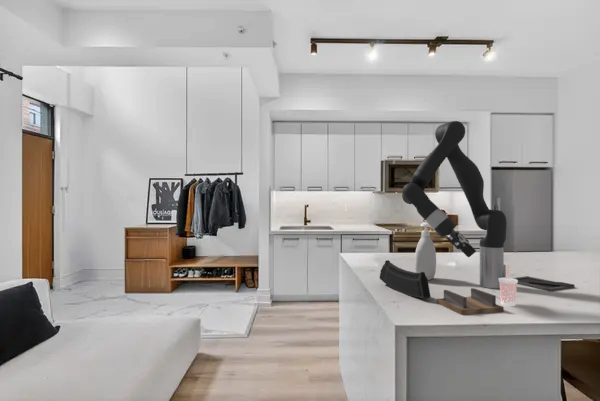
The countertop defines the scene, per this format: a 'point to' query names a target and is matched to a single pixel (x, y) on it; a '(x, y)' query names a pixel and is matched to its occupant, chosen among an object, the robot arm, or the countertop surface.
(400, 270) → the magazine
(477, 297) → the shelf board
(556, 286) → the picture frame
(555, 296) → the countertop surface
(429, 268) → the soap bottle
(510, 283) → the beverage cup
